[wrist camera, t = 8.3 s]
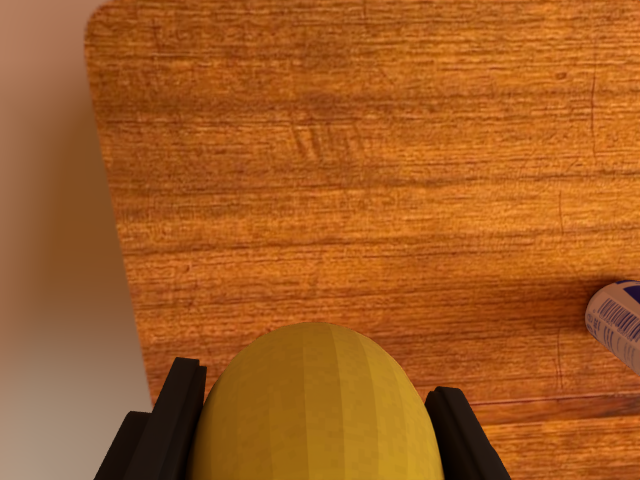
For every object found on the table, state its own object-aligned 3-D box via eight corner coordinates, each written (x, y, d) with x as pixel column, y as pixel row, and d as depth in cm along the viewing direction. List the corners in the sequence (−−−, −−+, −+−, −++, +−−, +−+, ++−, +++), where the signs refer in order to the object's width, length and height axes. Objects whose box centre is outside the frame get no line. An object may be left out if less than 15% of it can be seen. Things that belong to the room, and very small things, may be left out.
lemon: (309, 236, 12) (334, 507, 4) (429, 348, 13) (600, 687, 6) (183, 353, 13) (30, 726, 5) (308, 443, 15) (321, 826, 7)
